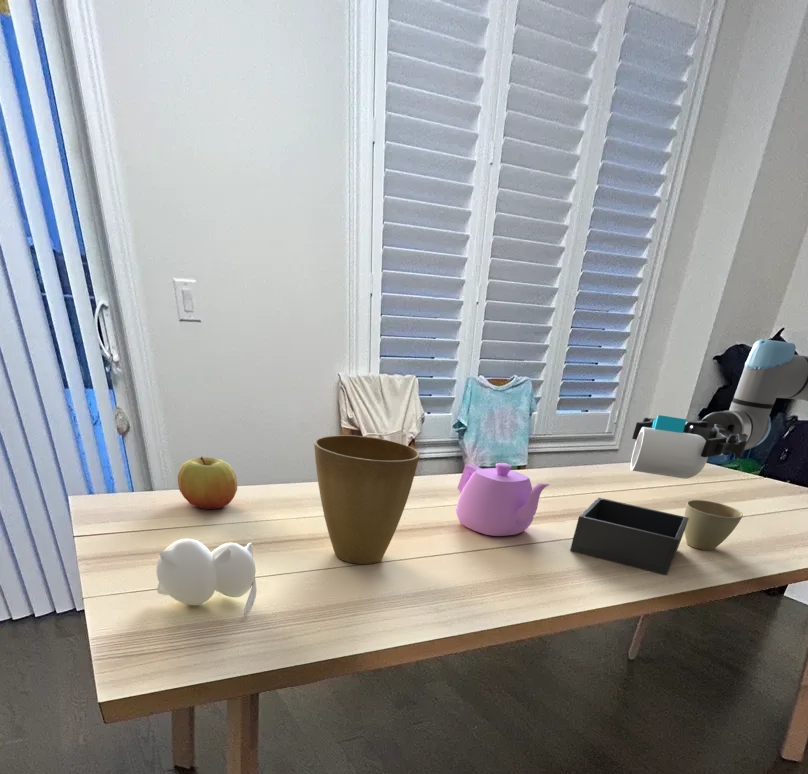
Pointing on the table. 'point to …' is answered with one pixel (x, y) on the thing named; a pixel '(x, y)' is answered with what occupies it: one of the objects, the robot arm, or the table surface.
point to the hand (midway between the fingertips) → (669, 439)
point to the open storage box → (629, 535)
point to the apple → (207, 482)
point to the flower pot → (709, 523)
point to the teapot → (496, 500)
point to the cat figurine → (206, 572)
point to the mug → (668, 449)
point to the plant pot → (363, 492)
